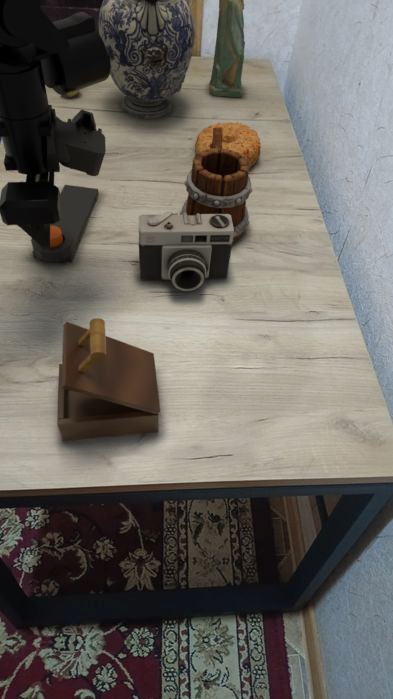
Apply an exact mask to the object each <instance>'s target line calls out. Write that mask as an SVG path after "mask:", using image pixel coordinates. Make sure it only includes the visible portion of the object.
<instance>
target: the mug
mask: <svg viewBox="0 0 393 699" xmlns="http://www.w3.org/2000/svg"><path fill="white" fill-rule="evenodd" d="M222 137H223V135H222V128H221V127H214V128H213V140H212V143H211V144H210V149H207V150H204V151H202V152H200V153H199V154H196V155H195V156H194V158H193V159H192V166H191V169H190V170H189V172H188V173H187V175H186V180H185V181H184V186H185V188H186V191H187V199H185V201H184V203H183V204H182V207H181V211H179V213H178V214H182V215H184V213H186V214H187V215H188V216H195V215H196V214H198V213H199V214H229V215H231V218H232V223H233V227H234V235H233V242H234V241H237V240H238V239H239V238H240V237H241V236H242V234H243V233H244V232H245V231H246V230H247V227H248V226H249V225H250V220H249V217H250V216H249V210H248V207H247V206H246V205H247V200H248V199H249V198H250V195H251V193H252V192H253V188H252V180H251V177H250V176H249V175H250V174H249V173H250V168H249V163H248V161H247V160H246V159H245V158H242V155H240V154H239V153H237V152H235V151H232V150H229V149H222Z"/></svg>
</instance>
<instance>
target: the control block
mask: <svg viewBox="0 0 393 699" xmlns="http://www.w3.org/2000/svg"><path fill="white" fill-rule="evenodd" d="M99 196H100V193H99V188H96V187H95V188H93V187H87V186H79V185H71V184H64V185H63V187H62V190H61V192H60V200H61V215H60V221H58V222H57V223H55V224H51V226H57V227H59V228H60V229H61V231H62V236H63V243H62V244H61V245H60V246H58V247H53V248H50V247H41V246H40V245H39V244H38V243H36V242H35V241H34V240H33V239H32V238H31V239H30V242H31V246H32V257H33V258H34V259H39V260H41V261H43V262H52V263H55V262H61V263H62V262H63V263H72V262H73V260H74V258H75V255H76V252H77V250H78V247H79V245H80V242H81V240H82V237H83V234H84V232H85V230H86V227H87V224H88V222H89V220H90V217H91V215H92V213H93V210H94V208H95V205H96V202H97V200H98V198H99Z"/></svg>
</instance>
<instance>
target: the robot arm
mask: <svg viewBox="0 0 393 699" xmlns="http://www.w3.org/2000/svg"><path fill="white" fill-rule="evenodd" d="M110 70H111V61H110V56H109V55H108V53H107V49H106V47H105V44H104V42H103V40H102V38H101V36H100V34H99V31H98V30H97V27H96V19H95V17H93V16H92V15H89V14H88V13H86V12H84V11H80V12H76V13H73V14H72V15H70V16H69V17H66V18H63V19H59V20H55V21H52V20H51V19H50V18H49V17H48V16H47V14H46V13H45V12H44V11H43V10H42V6H41V1H40V0H0V138H1V141H2V144H3V148H4V152H5V155H4V160H3V165H4V169H5V171H6V172H8V171H9V172H10V171H11V172H13V171H17V172H18V174H20V175H26V176H25V181H8V182H7V183H6V184H5V185H4V186H3V187H2V188H1V192H0V218H1V221H2V223H3V224H4V225H6V226H17V227H19V229H21V230H22V231H23V232H25V233H26V234H27V235H28V236H29V237H30V238H31V239H33V240H34V241H35V242H36V243H38V244H39V245H40V246H41V247H50V231H51V224H55V223H57V222H58V221H60V215H61V200H60V194H61V192H60V188H59V187H58V186H56V185H55V173H60V172H61V166H63V167H65V168H68V169H71V170H75V171H79V172H81V173H85V174H86V175H87V176H91V177H97V176H98V175H99V174H100V172H101V168H102V164H103V162H104V158H105V155H106V152H107V151H106V150H107V148H106V136H105V134H103V130H102V128H98V129H97V124H96V120H95V116H94V113H93V112H91V111H88V110H85V109H80V110H79V111H78V112H77V113H76V114H75V115H74V116H73V118H72V119H71V118H67V121H63V120H62V119H61V118H60V117H58V116H57V112H56V109H55V108H53V105H52V104H49V99H48V94H47V93H48V92H47V88H49V89H52V90H53V91H54V92H55V93H56V94H57V95H60V96H67V95H66V94H69V93H72V92H74V91H77V90H79V91H81V90H83V89H86V88H88V87H91V86H93V85H96V84H99V83H102V82H105V81H106V80H108V79H109V77H110V76H111V75H110ZM60 165H61V166H60Z"/></svg>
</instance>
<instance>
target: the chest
mask: <svg viewBox="0 0 393 699" xmlns="http://www.w3.org/2000/svg"><path fill="white" fill-rule="evenodd" d="M159 414H160V413H158V414H153V413H149V412H146V411H142V410H139V409H135V408H131V407H128V406H124V405H121V404H117V403H113V402H110V401H106V400H103V399H99V398H95V397H92V396H88V395H85V394H81V393H77V392H74V391H70V390H67V389H63V388H62V363H59V364H58V388H57V419H56V420H57V422H56V423H57V424H56V425H57V427H58V430H59V431H58V432H59V434H60V437H61V441H62V442H70V441H81V440H90V439H100V438H102V439H103V438H112V437H121V436H122V437H123V436H132V435H142V434H153V433H154V434H155V433H159V424H160V423H159V420H160V419H159V418H160V415H159Z"/></svg>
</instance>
